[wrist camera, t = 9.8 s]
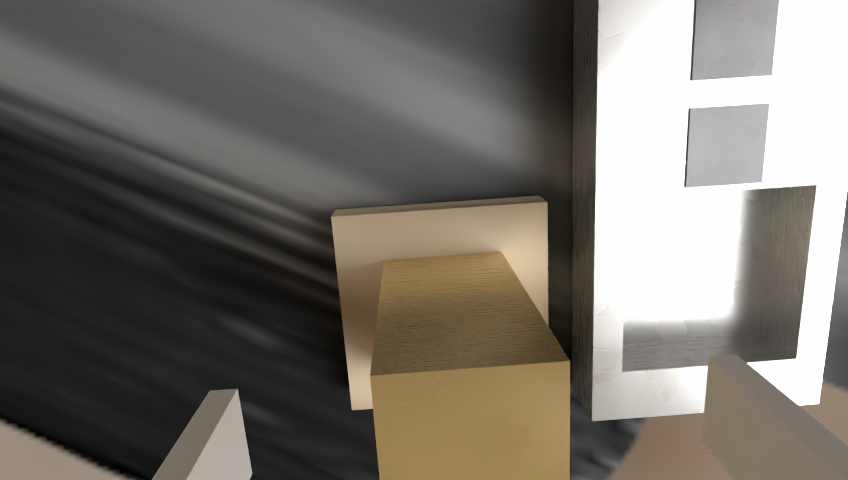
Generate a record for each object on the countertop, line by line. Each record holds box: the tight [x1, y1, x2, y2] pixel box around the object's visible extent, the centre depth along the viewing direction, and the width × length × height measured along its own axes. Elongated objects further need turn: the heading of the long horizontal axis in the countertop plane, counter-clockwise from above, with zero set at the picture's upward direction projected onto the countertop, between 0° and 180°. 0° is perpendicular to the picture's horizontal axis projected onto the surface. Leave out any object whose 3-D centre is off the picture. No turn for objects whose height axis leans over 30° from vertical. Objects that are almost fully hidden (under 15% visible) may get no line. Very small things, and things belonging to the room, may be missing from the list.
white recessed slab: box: [572, 0, 848, 421], centre depth 23 cm, size 18×10×3 cm, turn 4°
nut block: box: [370, 252, 570, 480], centre depth 19 cm, size 5×5×10 cm
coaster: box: [331, 196, 548, 410], centre depth 25 cm, size 9×9×2 cm
